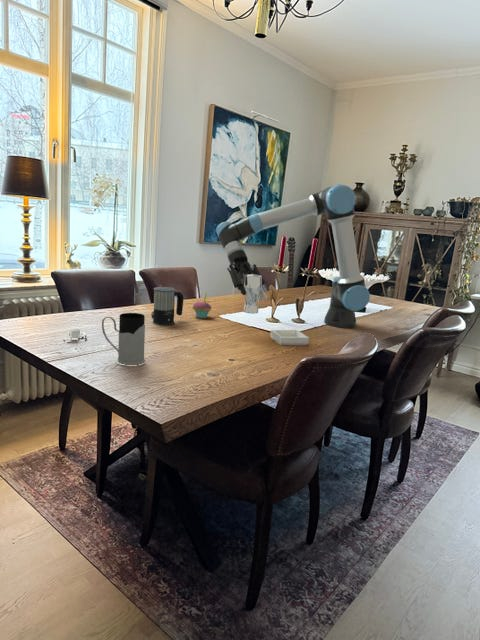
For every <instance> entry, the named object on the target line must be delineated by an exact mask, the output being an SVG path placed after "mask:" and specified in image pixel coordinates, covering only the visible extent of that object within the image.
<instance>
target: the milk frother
mask: <svg viewBox="0 0 480 640" xmlns="http://www.w3.org/2000/svg"><path fill="white" fill-rule="evenodd" d="M153 293H154V294H153V311H152V312H151V313H150V315H151V317H152V318H153V319H152V323H153V324H155V325H164V326H166V325H172V324H175V314H176V315H177V316H182V315H183V309H184V308H183V307H184V299H185V298H184V294H182V292H180V291H178V290H176V289H175V288H174V287H170V286H169V287H168V286H157V287H153ZM175 297H176V298H175ZM175 299H176V300H175ZM175 301H176V310H175ZM175 311H176V312H175Z"/></svg>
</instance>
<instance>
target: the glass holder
mask: <svg viewBox="0 0 480 640" xmlns="http://www.w3.org/2000/svg"><path fill="white" fill-rule="evenodd" d="M145 317H146V316H145V314H142V313H138V312H126V313H125V312H124V313H120V314H119V324H118V325H119V326H118V327H119V328H118V329H117V323H116V320H115V319H114V318H113V317H112V316H105V317H104V318H103V319H102V321H101V330H102V333H103V335H104V338H105V340H106V341H107V342H108V343H109V344H110V345H111V347H113V348H114V349H115V350H116V351H117V354H118V357H117V360H118V362H119V363H121V364H125V365H139V364H142V363H144V362H145V363H146V359H145V340H146V339H145V337H146V336H145V333H146V325H145V323H146V322H145V320H146V319H145ZM106 319H110V320H111V321H112V322H113V328H114V330H115V331H116V332H118V348H117V346H115V345H114V343H112V341H111V340H110V339H109V338H108V336H107V334H106V331H105V325H104V323H105V320H106Z"/></svg>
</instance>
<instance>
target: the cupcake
mask: <svg viewBox="0 0 480 640" xmlns="http://www.w3.org/2000/svg"><path fill="white" fill-rule="evenodd" d="M206 298H207V292H206V293H205V294H204V297H203V301H197V302H195V303H194V304H193V305H192V310H194V312H195V316H196V318H200V319H206V318H207V317H208V316H209V315H208V314H209V313H210V311H211V310H212V306H211V305H210V304H209V302H206Z"/></svg>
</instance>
